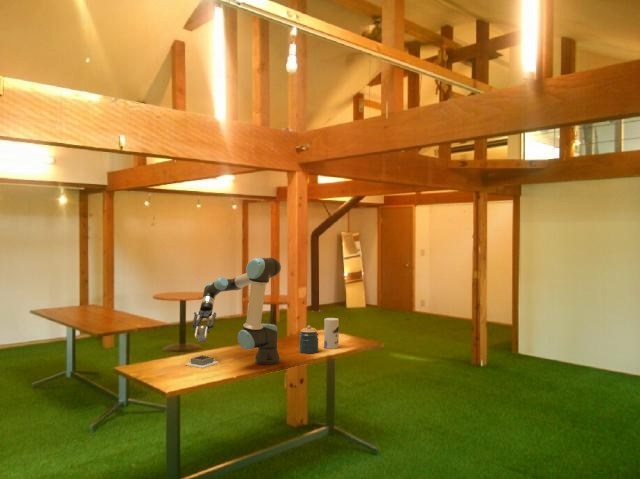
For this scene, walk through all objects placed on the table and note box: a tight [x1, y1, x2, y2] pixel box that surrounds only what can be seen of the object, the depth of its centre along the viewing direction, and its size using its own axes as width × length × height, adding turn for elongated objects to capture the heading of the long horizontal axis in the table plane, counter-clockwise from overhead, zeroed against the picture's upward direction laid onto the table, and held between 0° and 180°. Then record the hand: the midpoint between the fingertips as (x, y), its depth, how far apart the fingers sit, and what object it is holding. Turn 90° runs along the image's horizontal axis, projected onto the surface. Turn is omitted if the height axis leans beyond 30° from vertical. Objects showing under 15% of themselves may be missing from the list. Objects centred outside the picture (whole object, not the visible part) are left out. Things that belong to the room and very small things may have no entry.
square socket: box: [184, 354, 220, 369], centre depth 286 cm, size 14×14×4 cm
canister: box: [298, 324, 319, 355], centre depth 320 cm, size 13×13×18 cm
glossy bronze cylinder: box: [197, 324, 207, 343], centre depth 286 cm, size 5×5×9 cm
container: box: [323, 317, 340, 350], centre depth 333 cm, size 10×10×20 cm
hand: (200, 336), depth 283 cm, fingers closed on glossy bronze cylinder, 5 cm apart
